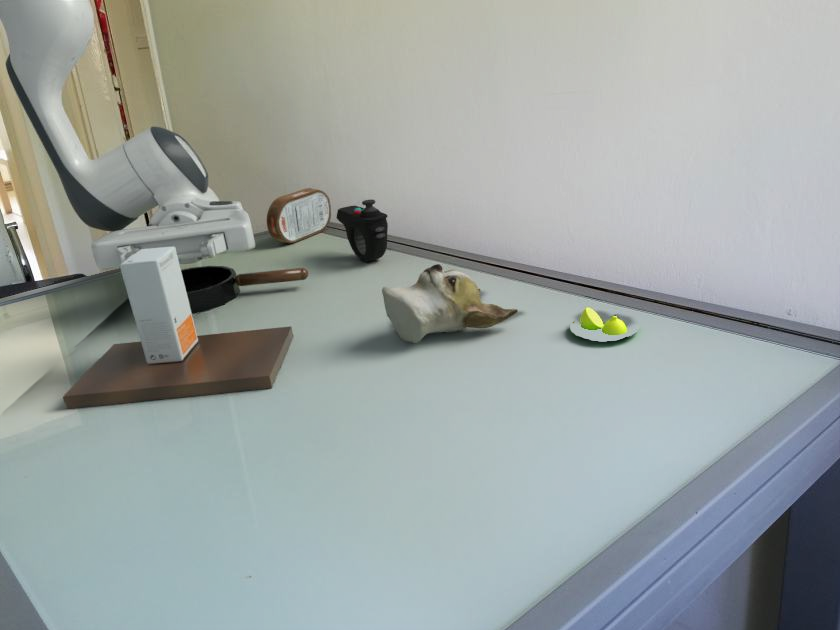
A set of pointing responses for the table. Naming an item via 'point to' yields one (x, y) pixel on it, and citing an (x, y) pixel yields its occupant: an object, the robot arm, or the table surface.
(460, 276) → the ceramic sculpture
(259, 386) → the cutting board
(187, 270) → the pan
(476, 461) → the table surface
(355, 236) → the controller
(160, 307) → the cosmetic box
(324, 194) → the tin
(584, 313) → the lemon
